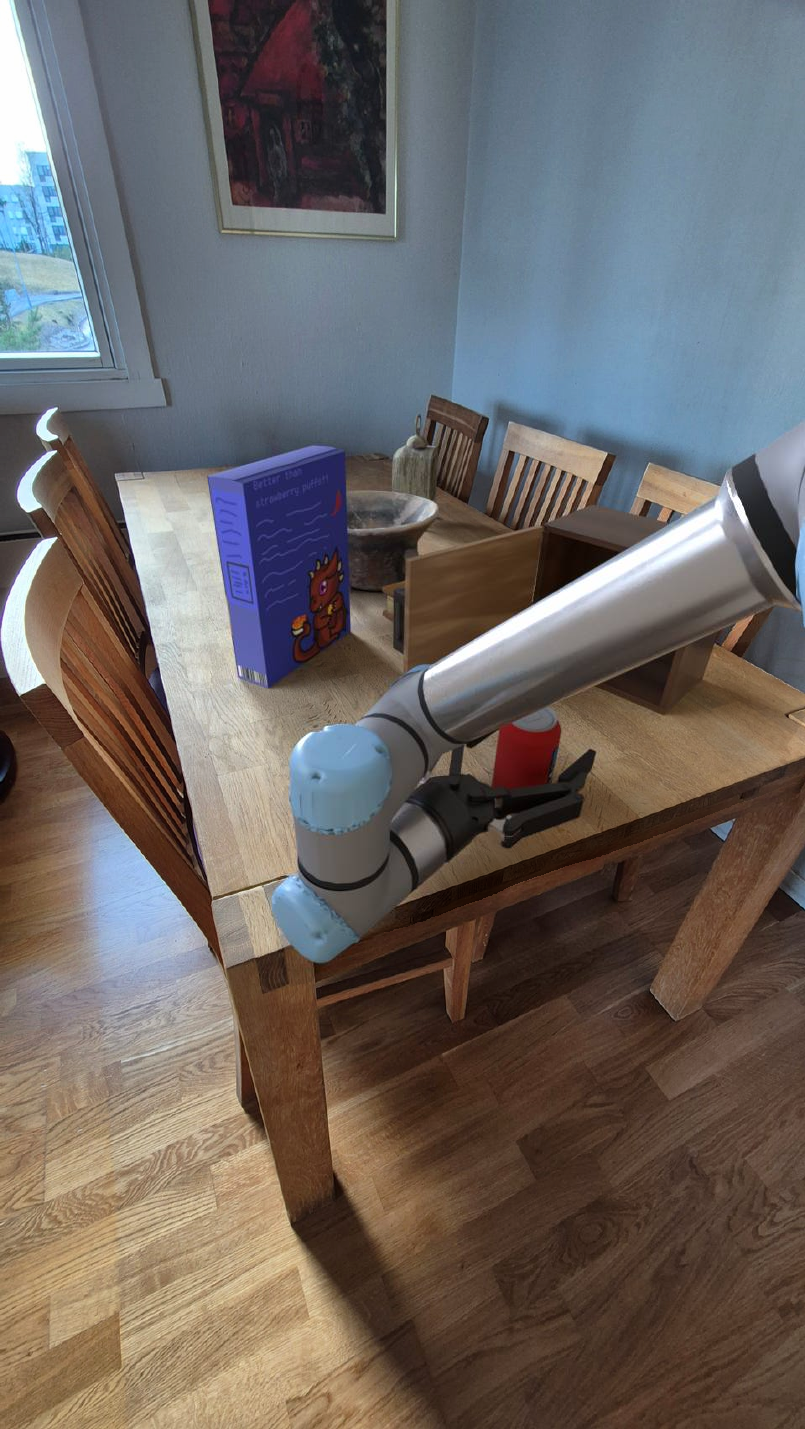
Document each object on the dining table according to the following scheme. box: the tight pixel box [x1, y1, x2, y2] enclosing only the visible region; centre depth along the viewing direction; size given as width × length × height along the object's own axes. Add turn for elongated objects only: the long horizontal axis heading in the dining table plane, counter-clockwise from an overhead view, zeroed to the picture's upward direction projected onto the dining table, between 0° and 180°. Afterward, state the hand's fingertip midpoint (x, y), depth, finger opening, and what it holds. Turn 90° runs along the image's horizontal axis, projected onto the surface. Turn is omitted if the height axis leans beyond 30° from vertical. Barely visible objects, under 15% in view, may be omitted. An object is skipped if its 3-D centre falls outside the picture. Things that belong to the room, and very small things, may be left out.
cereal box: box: [206, 445, 352, 689], centre depth 94 cm, size 22×6×30 cm, turn 149°
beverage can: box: [491, 706, 562, 802], centre depth 71 cm, size 7×7×12 cm
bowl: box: [346, 490, 441, 592], centre depth 124 cm, size 27×26×15 cm
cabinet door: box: [392, 524, 544, 676], centre depth 92 cm, size 6×24×22 cm, turn 127°
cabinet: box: [532, 504, 720, 716], centre depth 94 cm, size 14×24×22 cm, turn 47°
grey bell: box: [391, 413, 439, 503], centre depth 152 cm, size 14×9×25 cm, turn 170°
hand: (544, 736), depth 73 cm, fingers open, 11 cm apart
